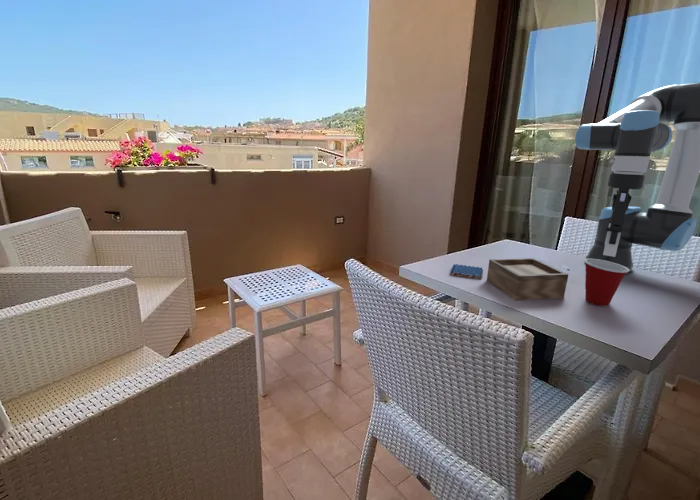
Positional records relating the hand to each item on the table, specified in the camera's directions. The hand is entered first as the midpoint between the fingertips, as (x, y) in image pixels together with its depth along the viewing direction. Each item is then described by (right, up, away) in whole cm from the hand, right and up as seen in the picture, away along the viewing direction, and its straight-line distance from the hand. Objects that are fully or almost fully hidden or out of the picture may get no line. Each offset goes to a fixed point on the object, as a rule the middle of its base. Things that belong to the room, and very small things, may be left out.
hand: (609, 250), depth 102 cm
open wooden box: (-18, -12, +13) cm, 25 cm away
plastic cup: (0, -15, +5) cm, 16 cm away
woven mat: (-31, -9, +27) cm, 42 cm away
